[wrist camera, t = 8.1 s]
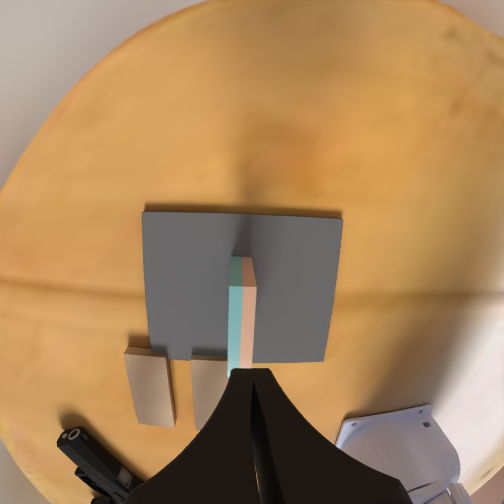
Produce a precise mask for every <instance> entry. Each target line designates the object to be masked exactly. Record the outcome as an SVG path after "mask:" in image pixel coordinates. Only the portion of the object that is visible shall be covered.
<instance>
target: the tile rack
mask: <svg viewBox="0 0 504 504" xmlns="http://www.w3.org/2000/svg"><path fill="white" fill-rule="evenodd" d="M124 357H125V363H126V368H127V374H128V379H129V384H130V388H131V393H132V398H133V402H134V406H135V411H136V415H137V419H138V423H140V424H147V425H154V426H163V427H172V428H175V424H176V413H175V406H174V398H173V390H172V382H171V373H170V364H169V359H168V357H167V353H160V352H151V349H150V348H139V347H130V346H128V347H127V349H126V351H125V352H124ZM190 360H191V376H192V390H193V402H194V414H195V425H196V430H201V429H202V428H203V426H204V425H205V424H206V422H207V421H208V419H209V418H210V416H211V414H212V413H213V411H214V410H215V408H216V406H217V404H218V403H219V401H220V399H221V397H222V395H223V393H224V391H225V388H226V386H227V383H228V380H229V377H227V371H228V356H205V355H191V359H190Z"/></svg>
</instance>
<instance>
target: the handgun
mask: <svg viewBox="0 0 504 504" xmlns="http://www.w3.org/2000/svg"><path fill="white" fill-rule="evenodd" d="M57 447H58V448H59V449H60V450H61V451H62V452H63V453H64V454H65V455H67V456H68V457H69V458H70V459H71V460H72V461H73V462H74V463H75V464H76V465H77V466H78V467H77V469H76V471H75V475H76V476H78V477H79V478H80V479H81V480H82V481H83V482H85V483H86V484H87V485H88V486H89V487H91V488H92V489H93V490H95V491H96V492H98V493H100V494H101V495H103V497H99V498H93V499H92V501H91V504H124V502H125V500H126V498H127V496H128V495H129V493H130V492H131V490H133V489H134V488H136V487H138V486H139V485H141V484H142V483H144V482H142V481H141V480H139V479H137V478H135V477H134V476H133V475H132V474H131V473H129V472H128V471H127V470H126V469H125V468H124V467H123V466H122V465H121V464H120V463H119V462H118V461H116V460H115V459H114V458H113V457H112V456H111V455H110V454H108V453H107V452H106V451H105V450H104V449H103V448H102V447H101V446H100V445H98V444H97V443H96V442H95V441H94V440H93V439H92V438H91V437H90V436H89V435H88V434H87V433H86V432H85V431H84V430H83V429H82V428H81V427H76V428H73V429H69V430H66V431H65V432H63V433H62V434H61V435H60V437H59V438H58V440H57Z"/></svg>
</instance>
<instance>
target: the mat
mask: <svg viewBox="0 0 504 504" xmlns="http://www.w3.org/2000/svg"><path fill="white" fill-rule="evenodd" d="M342 226H343V219H341V218H326V217H309V216H290V215H269V214H245V213H214V212H169V211H143V212H142V240H143V264H144V282H145V296H146V308H147V319H148V329H149V338H150V347H151V352H160V353H167V357H168V359H174V360H188V361H191V360H190V359H191V355H205V356H228V317H229V283H230V266H231V256H238V257H252V263H253V269H254V275H255V280H256V286H257V290H256V307H255V324H254V340H253V356H252V363H297V362H323V360H324V355H325V349H326V344H327V338H328V332H329V326H330V320H331V314H332V307H333V300H334V293H335V286H336V279H337V271H338V263H339V254H340V246H341V236H342Z"/></svg>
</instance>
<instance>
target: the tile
mask: <svg viewBox="0 0 504 504" xmlns="http://www.w3.org/2000/svg"><path fill="white" fill-rule="evenodd" d="M256 290H257V286H256V280H255V275H254V269H253V263H252V257H238V256H231V266H230V283H229V317H228V371H227V377H230V372H231V370H232V369H233V368H252V356H253V340H254V324H255V307H256Z"/></svg>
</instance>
